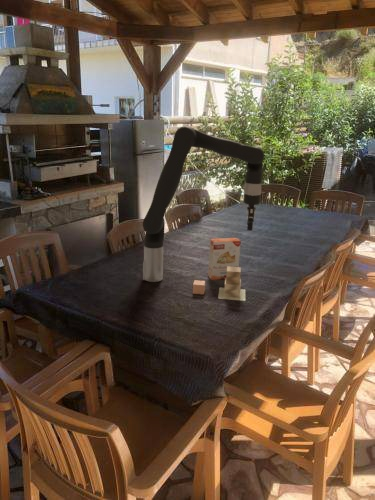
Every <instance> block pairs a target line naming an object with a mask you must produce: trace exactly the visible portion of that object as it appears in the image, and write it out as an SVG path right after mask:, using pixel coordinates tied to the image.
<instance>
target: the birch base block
mask: <svg viewBox="0 0 375 500" xmlns="http://www.w3.org/2000/svg"><path fill="white" fill-rule="evenodd" d="M223 288H224V297H236V298H240V289H242V279H241V278H240V285H235V284H226V278H225V279H224V287H223Z"/></svg>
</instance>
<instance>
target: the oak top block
mask: <svg viewBox="0 0 375 500" xmlns="http://www.w3.org/2000/svg"><path fill="white" fill-rule="evenodd" d="M241 269H242V268H241V266H240V267H230V266H227V275H226V284H235V285H240V279H241V272H242V271H241Z"/></svg>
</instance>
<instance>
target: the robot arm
mask: <svg viewBox="0 0 375 500" xmlns="http://www.w3.org/2000/svg"><path fill="white" fill-rule="evenodd" d="M192 148H201V149H204V150H206V151H207V150H208V151H209V152H213V153H216V154H218V155H221V156H224V157H229V158H232V159H237V160H240V161H242V162H245V163H246V165H247V166H246V172H245V182H244V183H245V184H244V189H243V201H242V202H243V203H244V204H245V205H247V206H246V217H247V220H246V225H247V227H246V229H247V231H253V228H254V227H253V225H254V222H255V220H254V219H255V217H256V216H255V215H256V210H257V207H256V205H260V204H261V197H262V183H263V171H262V170H263V164H264V163H263V162H264V161H263V160H264V158H265V152H264V150H263V149H262V148H261V147H259V146H252V145H246V144H243V143H241V142H238V141H235V140H231V139H228V138H222V137H218V136H214V135H211V134H207V133H205V132H202V131H199V130H197V129H195V128H193V127H192V126H189V125H183V126H180V127H179V128H177V129H176V130H175V133H174V137H173V141H172V144H171V149H170V152H169V155H168V157H167V159H166V161H165V163H164V165H163V168H162V170H161V173H160V175H159V178H158V181H157V183H156V187H155V190H154V193H153V197H152V200H151V204H150V207H149V209H148V211H147V213H146V214H145V216H144V218H143V221H142V228H143V230H144V232H145V235H144V240H143V261H142V281H147V282H150V283H157V282H161V281H162V280H163V279H164V278H163V277H164V240H165V223H166V222H165V214H166V211H167V209H168V207H169V205H170V203H171V201H173V199H174V197H175V194H176V192H177V190H178V187H179V184H180V182H181V179H182V175H183V171H184V166H185V162H186V159H187V157H188V155H189V152H190V151H191V149H192Z"/></svg>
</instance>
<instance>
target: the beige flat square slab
mask: <svg viewBox="0 0 375 500" xmlns="http://www.w3.org/2000/svg"><path fill="white" fill-rule="evenodd" d="M224 288H225V287H219V289H218V297H217V299H219V300H220V299H221V300H232V301H241V302H242V301H244V302H246V289H243V288H240V298H236V297H224Z"/></svg>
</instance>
